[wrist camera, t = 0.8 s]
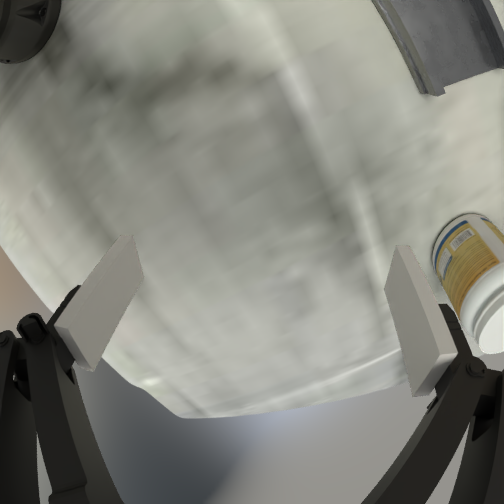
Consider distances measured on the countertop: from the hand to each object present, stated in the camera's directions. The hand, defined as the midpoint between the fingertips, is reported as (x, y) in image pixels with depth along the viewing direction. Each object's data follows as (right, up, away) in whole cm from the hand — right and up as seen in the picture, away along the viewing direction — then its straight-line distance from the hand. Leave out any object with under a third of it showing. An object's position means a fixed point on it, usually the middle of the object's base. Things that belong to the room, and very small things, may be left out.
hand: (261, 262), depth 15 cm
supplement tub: (+32, +1, +24) cm, 40 cm away
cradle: (+22, +27, +8) cm, 36 cm away
